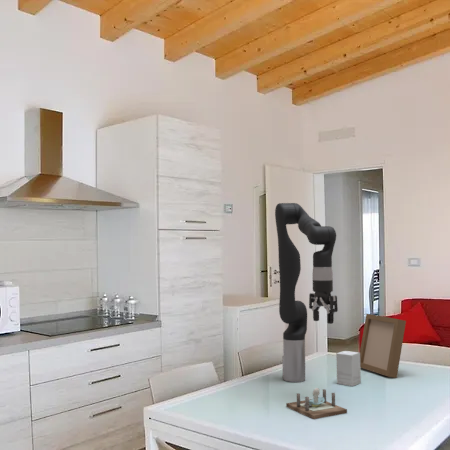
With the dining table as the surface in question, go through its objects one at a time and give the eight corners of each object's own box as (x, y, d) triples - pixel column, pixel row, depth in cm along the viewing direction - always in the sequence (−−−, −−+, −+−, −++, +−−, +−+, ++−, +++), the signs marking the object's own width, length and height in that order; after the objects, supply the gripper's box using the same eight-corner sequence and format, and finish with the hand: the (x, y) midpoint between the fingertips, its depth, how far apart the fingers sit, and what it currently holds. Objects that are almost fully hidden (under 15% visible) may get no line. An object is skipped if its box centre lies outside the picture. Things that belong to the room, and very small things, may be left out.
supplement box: (361, 383, 227) (360, 352, 227) (352, 386, 222) (351, 355, 222) (345, 380, 232) (345, 350, 232) (336, 383, 227) (335, 352, 227)
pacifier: (300, 406, 191) (314, 409, 187) (299, 387, 191) (313, 390, 187) (313, 401, 196) (327, 404, 192) (312, 384, 196) (326, 386, 192)
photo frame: (388, 379, 234) (387, 319, 235) (357, 368, 254) (356, 314, 255) (416, 375, 240) (414, 317, 241) (383, 365, 260) (382, 312, 261)
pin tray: (286, 406, 195) (286, 390, 195) (318, 401, 201) (318, 385, 201) (313, 419, 180) (313, 402, 181) (347, 413, 187) (346, 396, 187)
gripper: (342, 279, 203) (343, 323, 202) (319, 277, 216) (319, 319, 215) (326, 280, 200) (327, 325, 199) (303, 278, 212) (303, 320, 212)
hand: (323, 322), depth 207 cm, fingers open, 8 cm apart
